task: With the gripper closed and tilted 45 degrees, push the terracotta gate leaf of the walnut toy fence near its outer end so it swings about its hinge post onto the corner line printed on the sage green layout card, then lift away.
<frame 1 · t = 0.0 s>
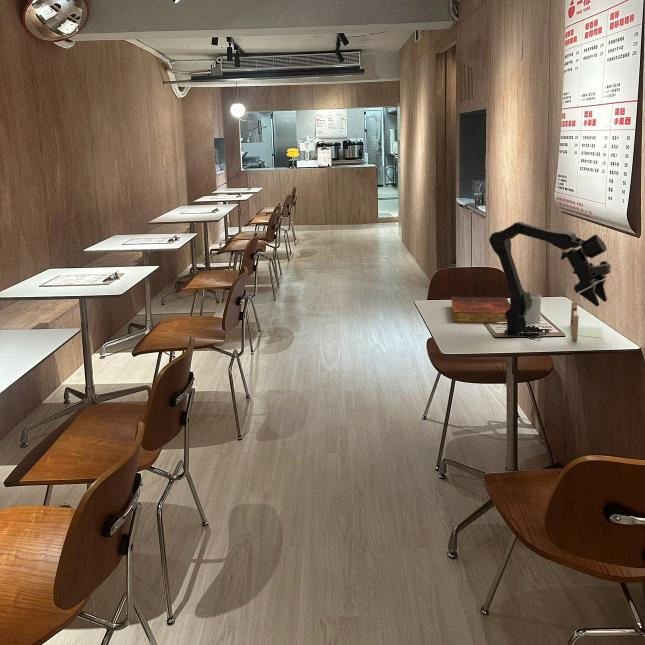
hand: (602, 303, 284), 15 cm above the table, tool tilted 35°, fingers open, 9 cm apart
gate leaf: (575, 325, 293), point 5 cm above the table, hinge at 0.0°
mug: (528, 321, 323), on the table
layout card: (584, 335, 300), on the table
fence frame: (573, 335, 300), on the table
book: (481, 316, 335), on the table
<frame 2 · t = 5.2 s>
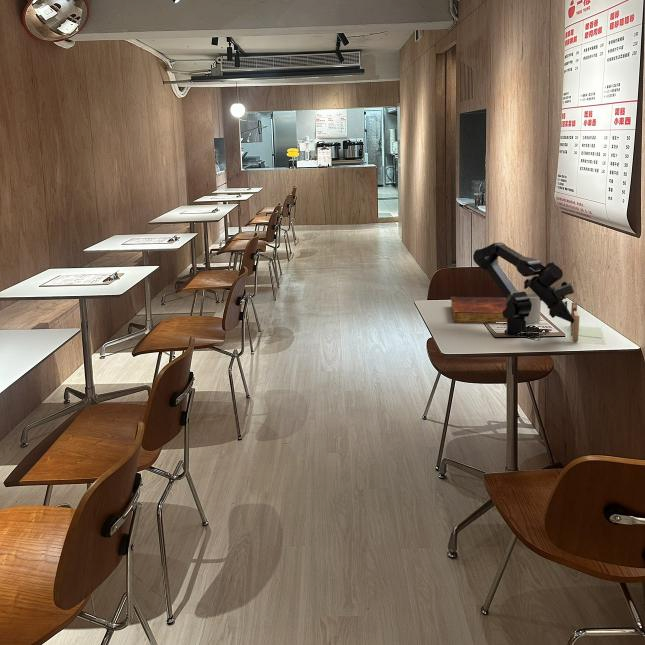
hand: (573, 322, 290), 7 cm above the table, tool tilted 45°, fingers closed, pressing on gate leaf
gate leaf: (575, 325, 293), point 5 cm above the table, hinge at 2.0°, touching gripper
everything else where it was.
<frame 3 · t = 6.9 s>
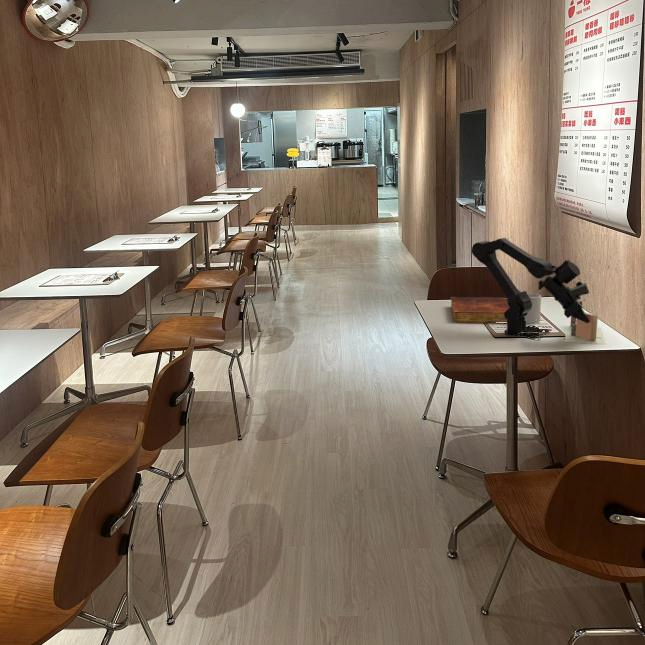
hand: (588, 322, 291), 7 cm above the table, tool tilted 45°, fingers closed
gate leaf: (586, 325, 293), point 5 cm above the table, hinge at 41.2°, touching gripper
everything else where it was.
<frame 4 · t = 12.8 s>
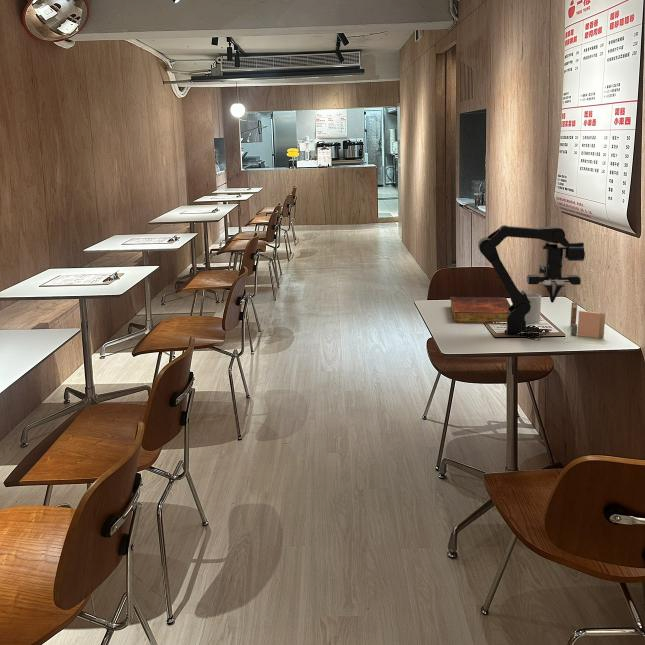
hand: (552, 302, 301), 12 cm above the table, tool pointing down, fingers closed
gate leaf: (591, 324, 295), point 5 cm above the table, hinge at 70.1°
everything else where it was.
at the end: gate leaf at +70° (first picture: +0°); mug moved 0.2 cm from its start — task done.
